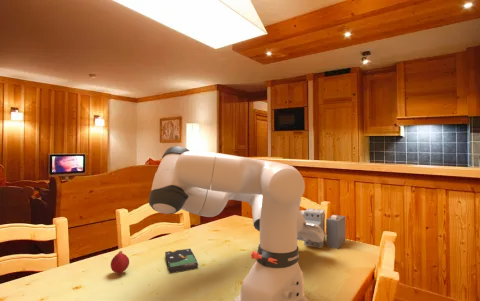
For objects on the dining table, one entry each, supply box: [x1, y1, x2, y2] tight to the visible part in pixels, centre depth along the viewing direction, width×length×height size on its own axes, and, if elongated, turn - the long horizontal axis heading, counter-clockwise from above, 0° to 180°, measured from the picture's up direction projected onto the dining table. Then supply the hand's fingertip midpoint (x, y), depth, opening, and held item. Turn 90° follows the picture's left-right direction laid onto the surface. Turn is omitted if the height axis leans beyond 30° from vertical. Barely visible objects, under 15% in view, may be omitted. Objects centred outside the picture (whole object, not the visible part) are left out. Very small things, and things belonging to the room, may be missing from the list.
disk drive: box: [164, 248, 199, 274], centre depth 99 cm, size 10×3×15 cm
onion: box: [110, 250, 130, 275], centre depth 90 cm, size 6×6×8 cm
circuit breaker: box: [303, 207, 326, 249], centre depth 115 cm, size 8×14×15 cm, turn 151°
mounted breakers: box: [297, 209, 346, 250], centre depth 122 cm, size 10×20×13 cm, turn 51°
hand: (304, 239), depth 109 cm, fingers closed
